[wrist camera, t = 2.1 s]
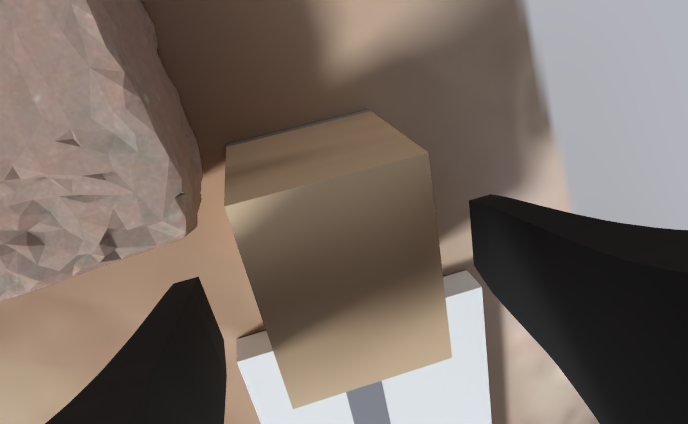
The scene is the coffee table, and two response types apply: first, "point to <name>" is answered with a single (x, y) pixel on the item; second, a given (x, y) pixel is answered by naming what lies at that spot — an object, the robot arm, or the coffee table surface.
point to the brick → (87, 141)
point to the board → (396, 392)
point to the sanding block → (340, 252)
